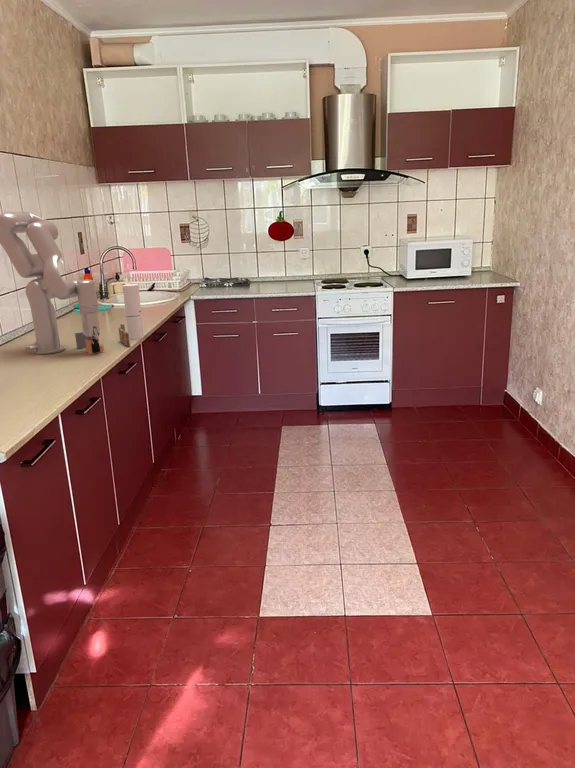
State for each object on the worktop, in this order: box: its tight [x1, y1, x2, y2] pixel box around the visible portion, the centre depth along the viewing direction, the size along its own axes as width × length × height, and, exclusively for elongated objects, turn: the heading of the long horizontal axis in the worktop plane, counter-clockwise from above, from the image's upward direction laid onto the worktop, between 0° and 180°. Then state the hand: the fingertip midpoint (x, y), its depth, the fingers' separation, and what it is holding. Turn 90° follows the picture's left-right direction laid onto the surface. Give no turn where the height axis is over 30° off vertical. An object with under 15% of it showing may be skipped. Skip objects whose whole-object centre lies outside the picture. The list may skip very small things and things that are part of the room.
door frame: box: [74, 323, 126, 350], centre depth 266 cm, size 22×2×8 cm, turn 124°
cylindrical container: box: [121, 283, 145, 340], centre depth 276 cm, size 7×7×25 cm
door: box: [118, 327, 131, 348], centre depth 266 cm, size 14×1×6 cm, turn 29°
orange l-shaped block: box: [85, 338, 105, 355], centre depth 254 cm, size 6×4×6 cm
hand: (94, 350), depth 254 cm, fingers closed on orange l-shaped block, 4 cm apart
